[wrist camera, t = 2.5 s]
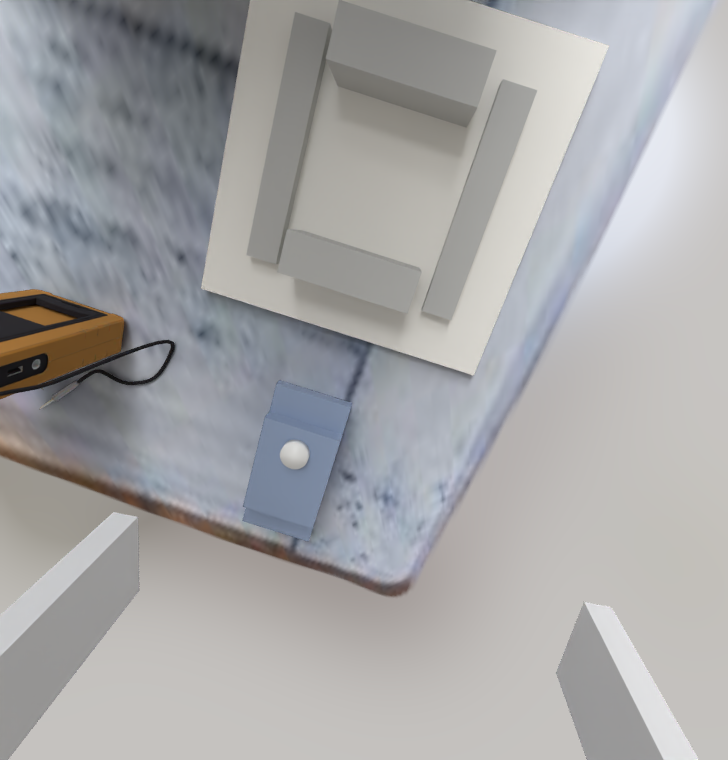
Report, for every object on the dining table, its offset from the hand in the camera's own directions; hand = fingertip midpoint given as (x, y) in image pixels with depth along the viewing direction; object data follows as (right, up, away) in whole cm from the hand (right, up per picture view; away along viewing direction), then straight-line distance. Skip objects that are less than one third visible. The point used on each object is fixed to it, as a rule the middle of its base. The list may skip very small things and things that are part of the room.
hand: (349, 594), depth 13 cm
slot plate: (+2, +19, +15) cm, 24 cm away
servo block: (-4, +2, +21) cm, 22 cm away
